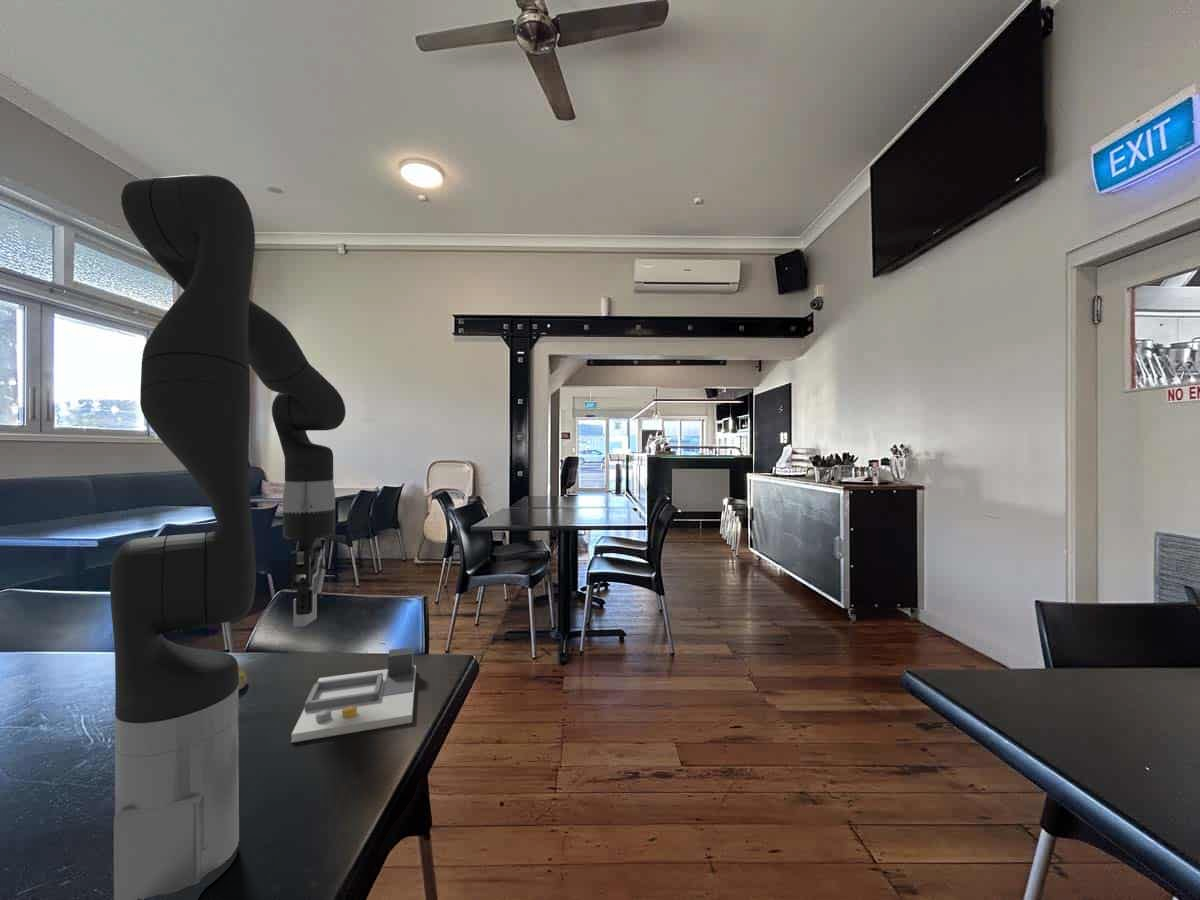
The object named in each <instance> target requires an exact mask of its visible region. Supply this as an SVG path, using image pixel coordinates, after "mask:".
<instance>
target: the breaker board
mask: <svg viewBox="0 0 1200 900" xmlns="http://www.w3.org/2000/svg"><path fill="white" fill-rule="evenodd" d="M416 675H417V666H416V664H415V665H413V670H412V673H409V674H402V675H395V676H388V668H385V669H379V670H371V671H370V670H369V671H362V672H355V673H348V674H342V675H341V674H340V675H332V676H325V677H319V678H318V679H317V681H315V682H314V684H313V686H312V689H311V690H310V692H309V695H308V696H307V698H306V700H305V703H304V707H303V710H302V712H301V714H300V716H299V718H298V720H297V722H296V724H295V726H294V729H293V730H292V732H291V735H290V736H291V738H290V739H291V742H290V743H291V744H292V743H299V742H303V741H309V740H315V739H316V740H317V739H322V738H328V737H333V736H339V735H346V734H351V733H359V732H362V731H368V730H369V731H370V730H374V729H375V730H376V729H383V728H387V727H388V728H389V727H393V726H399V725H406V724H411V723H413V715H414V714H413V713H414V703H415V687H416Z"/></svg>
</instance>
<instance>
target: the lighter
mask: <svg viewBox="0 0 1200 900" xmlns="http://www.w3.org/2000/svg"><path fill="white" fill-rule="evenodd" d="M325 576H326V569H323V568H319V570H318V575H317V576H316V577H314V588H313V610H312V612H311V613H310V614H304V615H297V614H296V598H294V599H293V627H294V628H296V627H297V628H298V627H306V626H307V625H309V624H310V623H312V622H313V621H316V619H317V618H318V616H317V615H318V611H317V610H318V601H317V594H320V593H321V590H322V591H323V585H324V579H325Z"/></svg>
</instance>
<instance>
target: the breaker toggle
mask: <svg viewBox="0 0 1200 900" xmlns="http://www.w3.org/2000/svg"><path fill="white" fill-rule="evenodd" d="M413 662H414V647H406V648H405V647H404V648H396V649H395V648H394V649H389V651H388V656H387V669H388V676H395V675H402V674H409V673H412V670H413V666H414V663H413Z"/></svg>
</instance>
